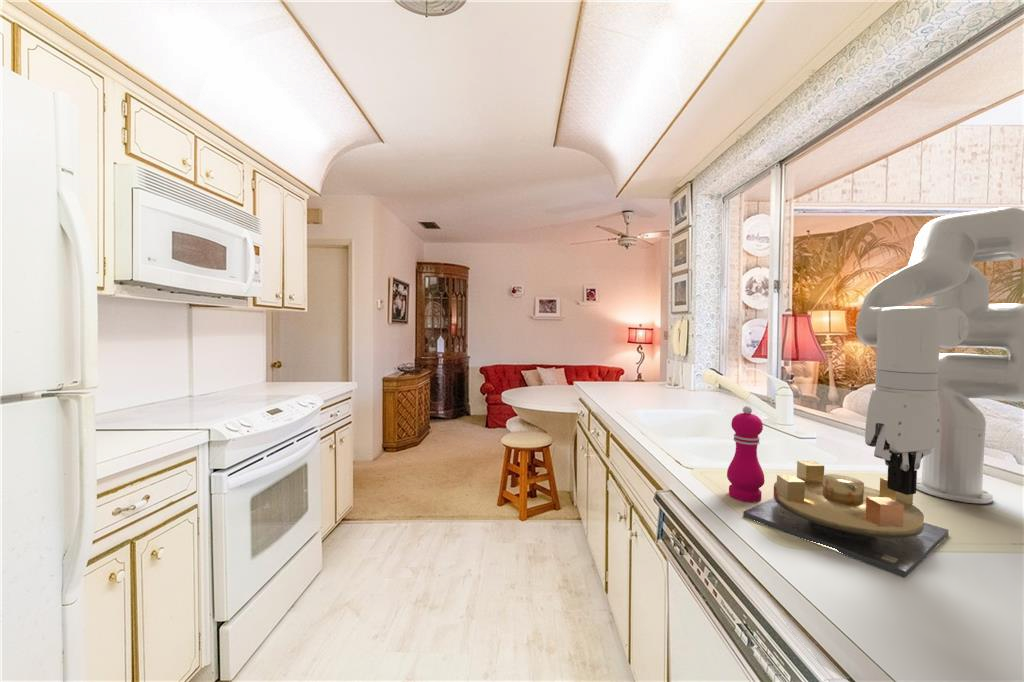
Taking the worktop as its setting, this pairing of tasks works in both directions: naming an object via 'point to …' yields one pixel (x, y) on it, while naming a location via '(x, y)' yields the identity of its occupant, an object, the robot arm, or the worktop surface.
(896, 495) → the brass lugged disc
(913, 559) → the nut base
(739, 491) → the pepper mill
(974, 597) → the worktop surface
